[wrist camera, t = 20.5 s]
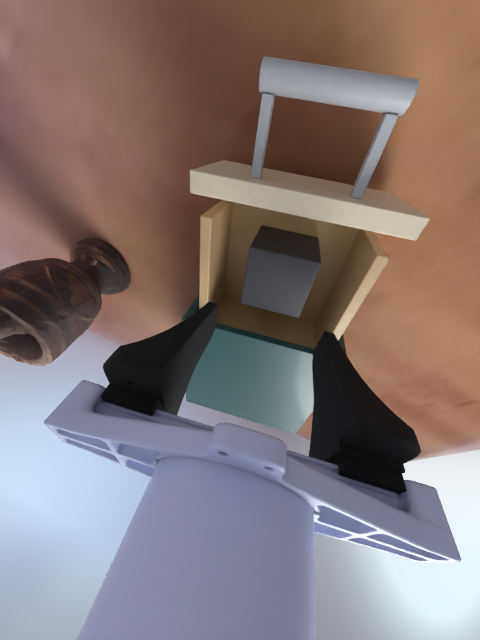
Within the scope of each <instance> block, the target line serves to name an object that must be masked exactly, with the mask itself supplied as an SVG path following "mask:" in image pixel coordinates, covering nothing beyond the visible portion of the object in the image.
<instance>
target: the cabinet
mask: <svg viewBox="0 0 480 640" xmlns="http://www.w3.org/2000/svg"><path fill="white" fill-rule="evenodd" d="M198 310H199V295H198V296H197V298H196V299H195V301H194V302H193V304H192V305H191V306H190V308H189V309H188V311H187V312H186V314H185V315H184V316H183V318H182V321H184V320H185V319H187V318H188V317H190V316H191V315H192V314H194V313H195V312H196V311H198ZM338 341H339V343H340V345H341V347H342V349H343V350H344V352H345V354H346V349H345V343H344V338H343V334H342V336H341V337H340V339H339V340H338ZM313 351H314V349H313V348H310V347H306V346H302V345H298V344H295V343H291V342H287V341H283V340H279V339H276V338H272V337H268V336H264V335H261V334H257V333H253V332H249V331H245V330H242V329H238V328H234V327H230V326H227V325H223V324H219V323H217V324H216V328H215V330H214V333H213V335H212V338H211V340H210V342H209V343H208V345H207V347H206V349H205V351H204V352H203V354H202V356H201V358H200V360H199V362H198V363H197V365H196V368H195V370H194V372H193V375H192V377H191V379H190V382H189V384H188V387H187V389H186V400H187V401H188V402H191V403H194V404H198V405H201V406H204V407H208V408H211V409H214V410H217V411H221V412H224V413H227V414H231V415H234V416H237V417H241V418H244V419H247V420H251V421H254V422H257V423H261V424H264V425H267V426H271V427H274V428H277V429H281V430H284V431H287V432H290V433H294V434H296V433H297V431H298V430H299V429H300V427H301V426H302V425H303V423H304V422H305V421H306V419H307V418H308V417H309V415H310V414H311V412H312V411H313V406H314V391H313V373H312V360H313ZM346 356H347V355H346Z"/></svg>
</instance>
